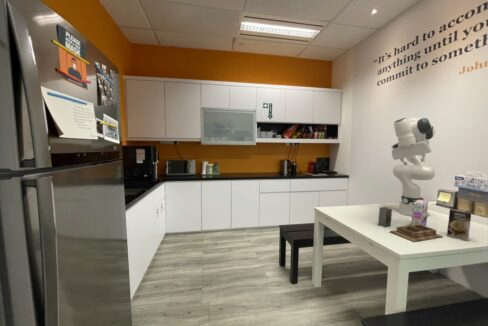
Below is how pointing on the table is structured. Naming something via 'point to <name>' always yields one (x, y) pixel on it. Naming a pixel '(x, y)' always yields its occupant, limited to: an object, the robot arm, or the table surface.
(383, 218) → the battery cell
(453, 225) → the coffee box
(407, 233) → the walnut cell rack
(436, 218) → the table surface
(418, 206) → the candy box
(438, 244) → the table surface
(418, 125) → the robot arm
